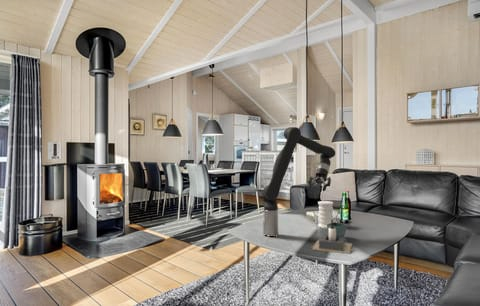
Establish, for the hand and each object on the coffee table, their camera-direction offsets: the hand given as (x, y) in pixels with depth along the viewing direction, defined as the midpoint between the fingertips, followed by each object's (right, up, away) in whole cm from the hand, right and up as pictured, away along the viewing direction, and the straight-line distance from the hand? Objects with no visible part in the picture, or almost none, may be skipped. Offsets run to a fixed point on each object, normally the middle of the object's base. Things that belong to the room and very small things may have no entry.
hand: (316, 190), depth 192 cm
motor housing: (+4, -31, -20) cm, 37 cm away
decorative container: (+14, -31, +29) cm, 45 cm away
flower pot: (+12, -31, -2) cm, 33 cm away
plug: (+4, -29, -20) cm, 36 cm away
